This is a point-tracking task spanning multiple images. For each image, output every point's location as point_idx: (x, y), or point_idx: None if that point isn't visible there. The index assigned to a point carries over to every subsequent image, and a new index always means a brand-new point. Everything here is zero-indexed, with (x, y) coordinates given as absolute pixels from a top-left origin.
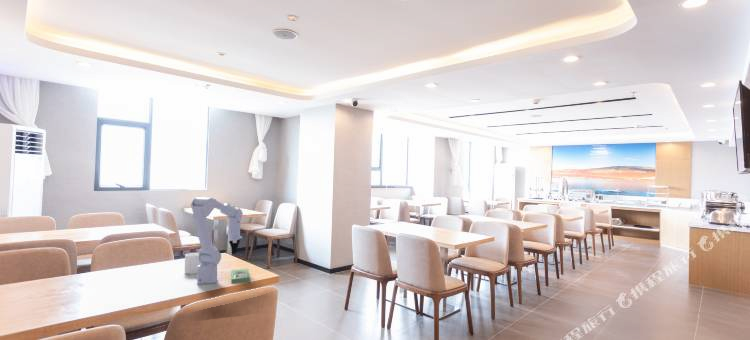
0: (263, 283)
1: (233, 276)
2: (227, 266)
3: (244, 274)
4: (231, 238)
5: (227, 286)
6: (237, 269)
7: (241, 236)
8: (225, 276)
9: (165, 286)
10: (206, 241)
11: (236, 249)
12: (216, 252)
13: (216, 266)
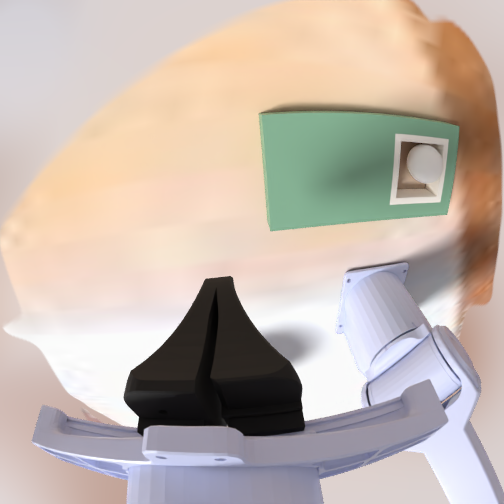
0: (476, 73)
1: (414, 207)
2: (104, 259)
3: (433, 152)
4: (339, 473)
5: (459, 218)
6: (268, 192)
7: (150, 455)
8: (319, 242)
9: (357, 377)
10: (482, 446)
11: (238, 306)
12: (475, 376)
13: (422, 318)
